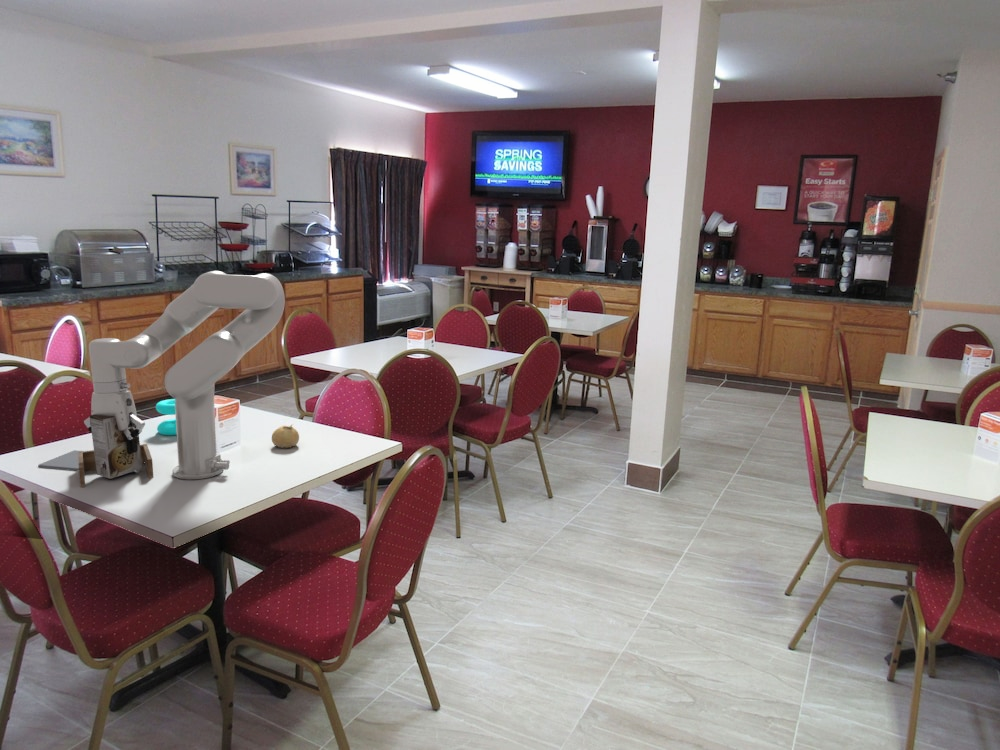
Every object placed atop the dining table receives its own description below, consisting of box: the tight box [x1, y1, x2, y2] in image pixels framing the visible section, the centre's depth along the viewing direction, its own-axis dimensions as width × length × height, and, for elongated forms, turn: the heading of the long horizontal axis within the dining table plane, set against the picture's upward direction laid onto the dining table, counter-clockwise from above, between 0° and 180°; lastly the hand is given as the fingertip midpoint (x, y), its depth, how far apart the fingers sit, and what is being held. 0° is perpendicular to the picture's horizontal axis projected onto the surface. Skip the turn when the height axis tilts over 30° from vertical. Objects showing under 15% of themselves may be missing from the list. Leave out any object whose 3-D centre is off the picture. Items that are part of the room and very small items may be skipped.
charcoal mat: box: [38, 449, 83, 471], centre depth 192 cm, size 13×13×1 cm
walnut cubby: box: [78, 443, 154, 488], centre depth 183 cm, size 16×14×5 cm
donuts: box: [155, 398, 177, 436], centre depth 221 cm, size 10×10×10 cm
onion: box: [271, 424, 300, 448], centre depth 211 cm, size 8×8×7 cm
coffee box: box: [89, 414, 144, 480], centre depth 181 cm, size 9×6×16 cm
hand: (117, 451), depth 182 cm, fingers closed on coffee box, 8 cm apart
